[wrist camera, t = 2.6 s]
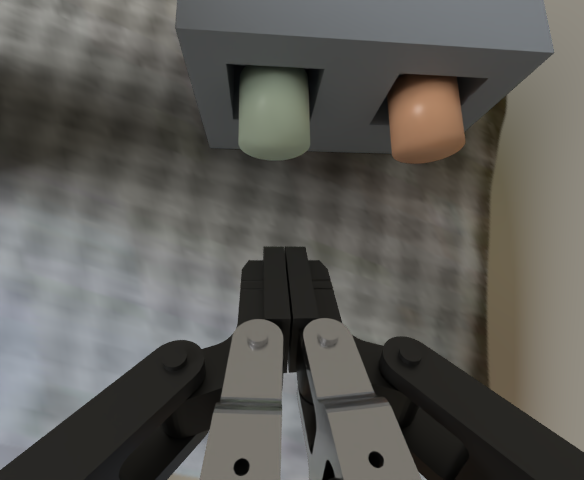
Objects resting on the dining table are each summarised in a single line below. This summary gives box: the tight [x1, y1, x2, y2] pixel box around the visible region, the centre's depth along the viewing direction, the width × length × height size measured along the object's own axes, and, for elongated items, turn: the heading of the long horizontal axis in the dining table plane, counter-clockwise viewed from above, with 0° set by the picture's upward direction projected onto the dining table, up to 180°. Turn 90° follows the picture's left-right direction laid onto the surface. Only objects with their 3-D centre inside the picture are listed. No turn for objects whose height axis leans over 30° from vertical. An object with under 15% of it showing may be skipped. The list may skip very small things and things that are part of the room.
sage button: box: [238, 65, 310, 161], centre depth 19 cm, size 4×4×4 cm
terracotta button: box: [387, 74, 465, 164], centre depth 20 cm, size 4×4×4 cm
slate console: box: [175, 0, 554, 154], centre depth 22 cm, size 8×18×11 cm, turn 91°
